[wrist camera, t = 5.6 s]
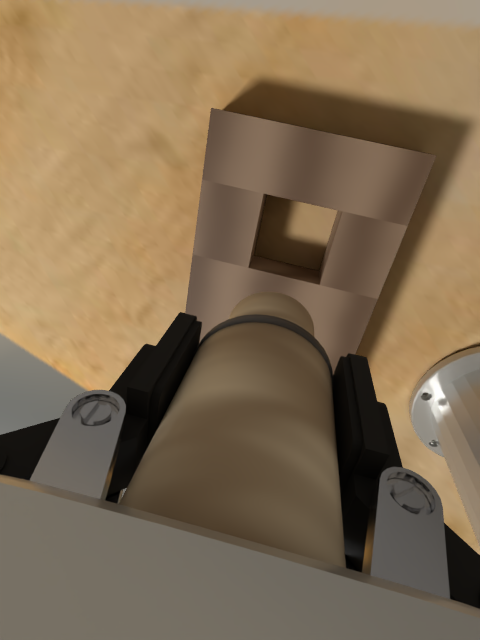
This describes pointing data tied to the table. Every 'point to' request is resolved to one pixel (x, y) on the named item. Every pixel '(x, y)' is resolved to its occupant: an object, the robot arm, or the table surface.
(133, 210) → the table surface
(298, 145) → the walnut board
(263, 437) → the beech leg
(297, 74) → the table surface
